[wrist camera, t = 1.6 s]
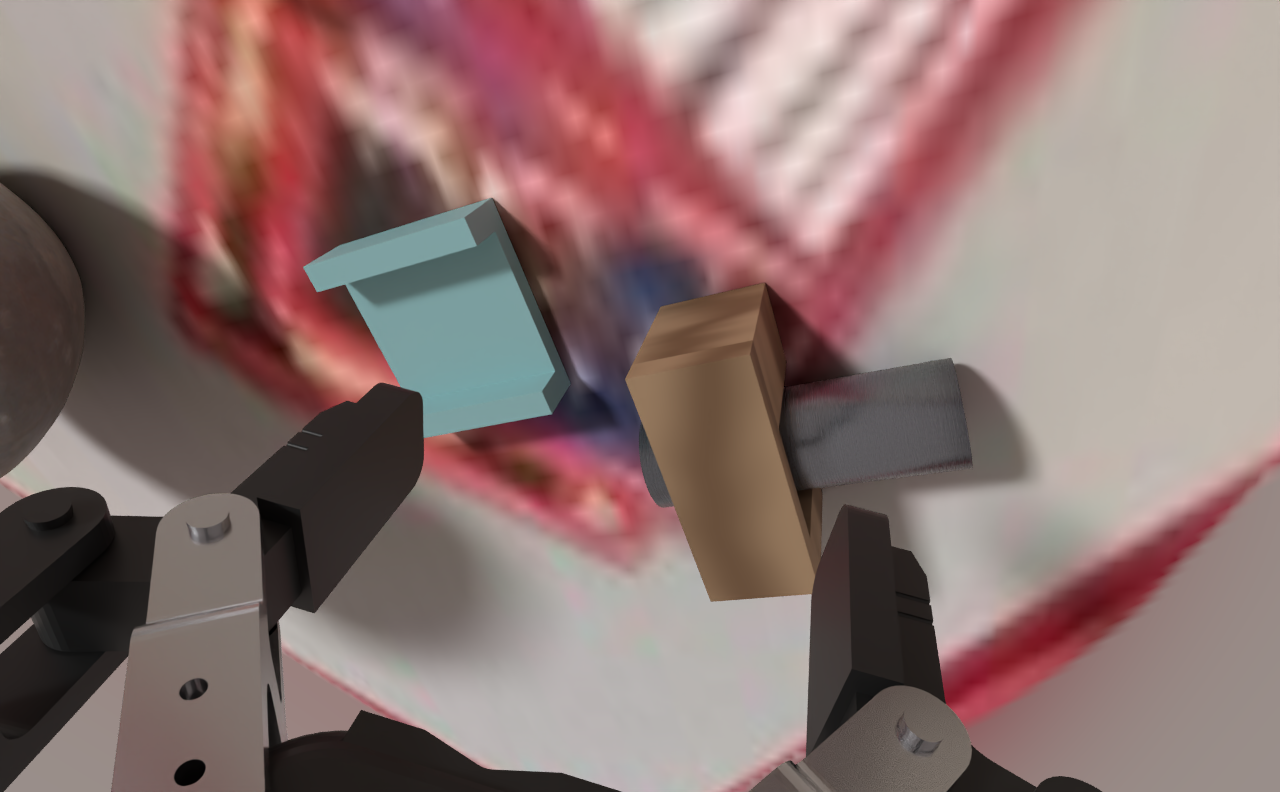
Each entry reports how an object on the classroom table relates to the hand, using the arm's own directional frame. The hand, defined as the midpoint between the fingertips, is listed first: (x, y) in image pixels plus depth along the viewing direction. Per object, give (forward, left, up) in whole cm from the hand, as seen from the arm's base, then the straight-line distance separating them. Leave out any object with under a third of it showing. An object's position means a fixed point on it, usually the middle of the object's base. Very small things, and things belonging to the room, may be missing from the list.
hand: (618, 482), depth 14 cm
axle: (0, +11, -21) cm, 24 cm away
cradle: (+15, +2, -20) cm, 26 cm away
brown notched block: (+2, +10, -21) cm, 23 cm away
